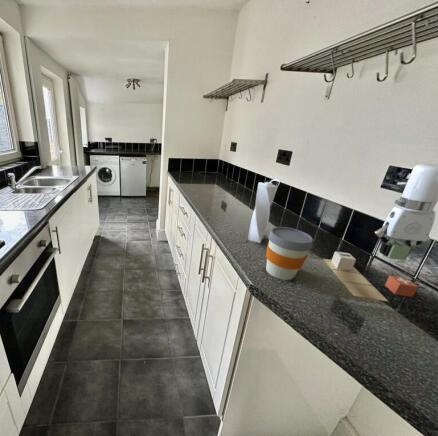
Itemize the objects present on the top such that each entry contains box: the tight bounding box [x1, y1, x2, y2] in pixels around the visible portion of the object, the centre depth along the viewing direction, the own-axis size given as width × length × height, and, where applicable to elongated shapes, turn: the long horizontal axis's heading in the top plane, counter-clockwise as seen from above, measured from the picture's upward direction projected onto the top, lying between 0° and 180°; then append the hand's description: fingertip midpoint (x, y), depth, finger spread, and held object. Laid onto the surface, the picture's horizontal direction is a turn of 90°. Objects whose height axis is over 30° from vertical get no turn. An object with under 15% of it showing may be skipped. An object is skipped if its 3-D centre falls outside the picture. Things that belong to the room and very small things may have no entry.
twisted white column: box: [247, 178, 281, 244], centre depth 100 cm, size 8×8×28 cm
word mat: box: [322, 258, 390, 303], centre depth 79 cm, size 9×22×1 cm, turn 166°
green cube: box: [386, 240, 412, 261], centre depth 78 cm, size 5×5×5 cm
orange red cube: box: [384, 275, 419, 298], centre depth 73 cm, size 5×5×5 cm
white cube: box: [331, 251, 357, 270], centre depth 85 cm, size 5×5×5 cm
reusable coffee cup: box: [265, 226, 314, 281], centre depth 79 cm, size 13×13×15 cm
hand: (392, 254), depth 79 cm, fingers closed on green cube, 4 cm apart
